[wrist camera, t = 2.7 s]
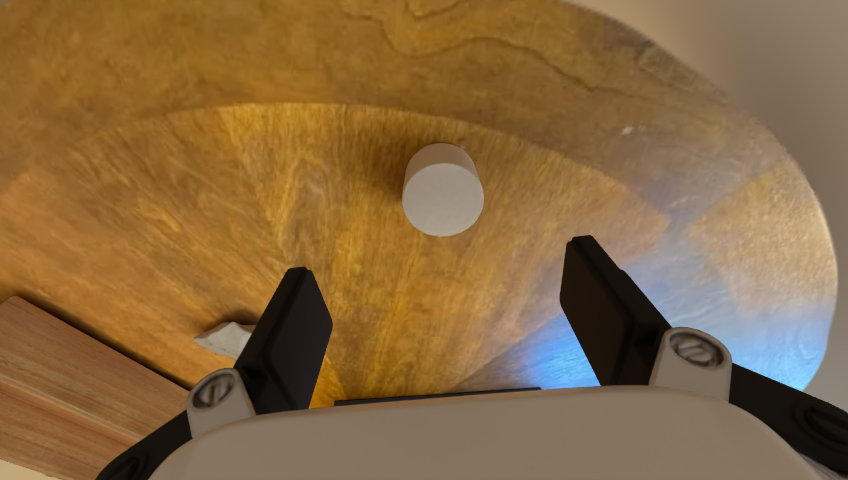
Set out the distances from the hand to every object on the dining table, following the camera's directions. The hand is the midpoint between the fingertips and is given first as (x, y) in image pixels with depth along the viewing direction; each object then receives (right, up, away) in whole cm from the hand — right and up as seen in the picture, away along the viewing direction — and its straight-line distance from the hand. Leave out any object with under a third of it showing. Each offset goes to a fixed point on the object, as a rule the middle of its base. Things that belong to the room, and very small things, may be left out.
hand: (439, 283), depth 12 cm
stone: (-16, -6, +16) cm, 24 cm away
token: (0, +5, +8) cm, 10 cm away
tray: (-30, -16, +23) cm, 41 cm away
